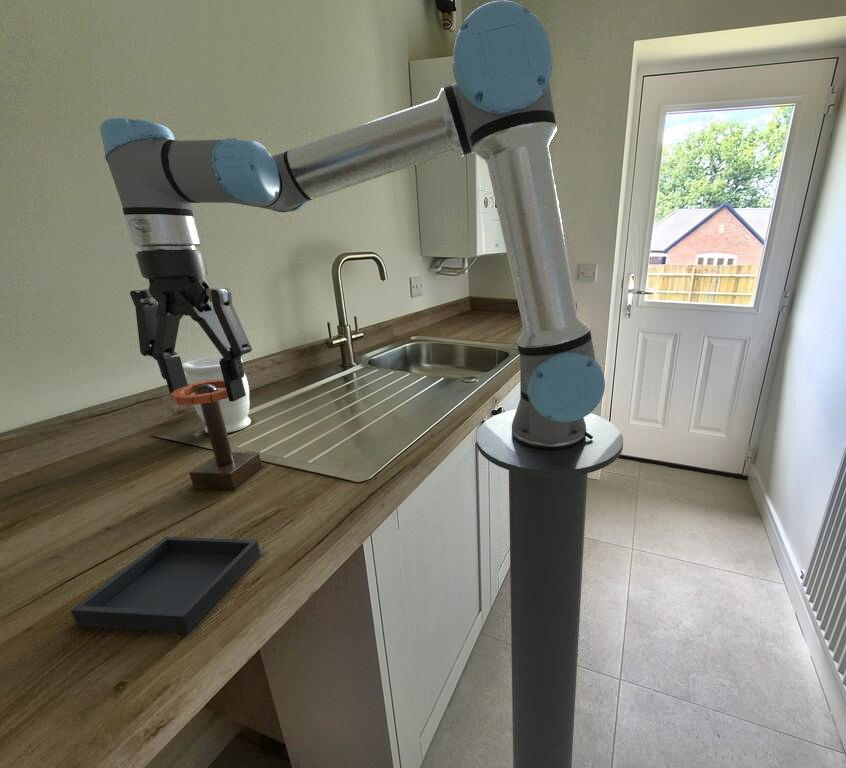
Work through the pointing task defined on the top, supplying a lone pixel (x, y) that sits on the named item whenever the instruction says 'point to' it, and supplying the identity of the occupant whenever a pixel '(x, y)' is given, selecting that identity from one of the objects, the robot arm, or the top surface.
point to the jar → (211, 370)
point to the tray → (168, 585)
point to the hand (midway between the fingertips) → (209, 398)
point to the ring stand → (221, 453)
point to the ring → (184, 397)
